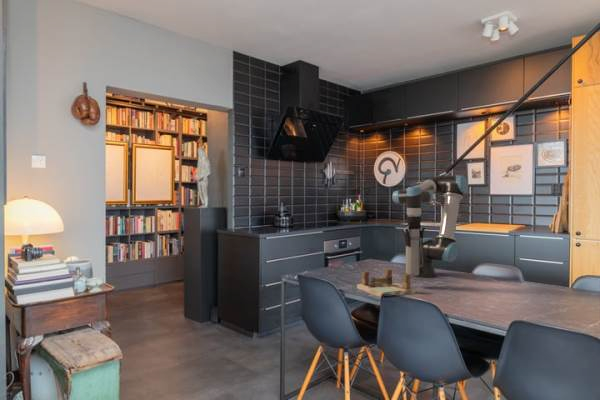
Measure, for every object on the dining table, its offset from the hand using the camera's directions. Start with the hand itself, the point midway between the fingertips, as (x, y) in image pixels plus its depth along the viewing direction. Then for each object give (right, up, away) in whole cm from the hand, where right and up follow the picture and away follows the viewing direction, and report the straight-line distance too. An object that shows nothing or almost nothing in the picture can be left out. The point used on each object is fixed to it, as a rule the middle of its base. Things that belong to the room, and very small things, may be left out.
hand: (414, 259), depth 210 cm
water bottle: (0, -9, 0) cm, 9 cm away
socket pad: (-19, -13, -14) cm, 27 cm away
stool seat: (-17, -15, -7) cm, 24 cm away
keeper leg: (-19, -13, -6) cm, 24 cm away
